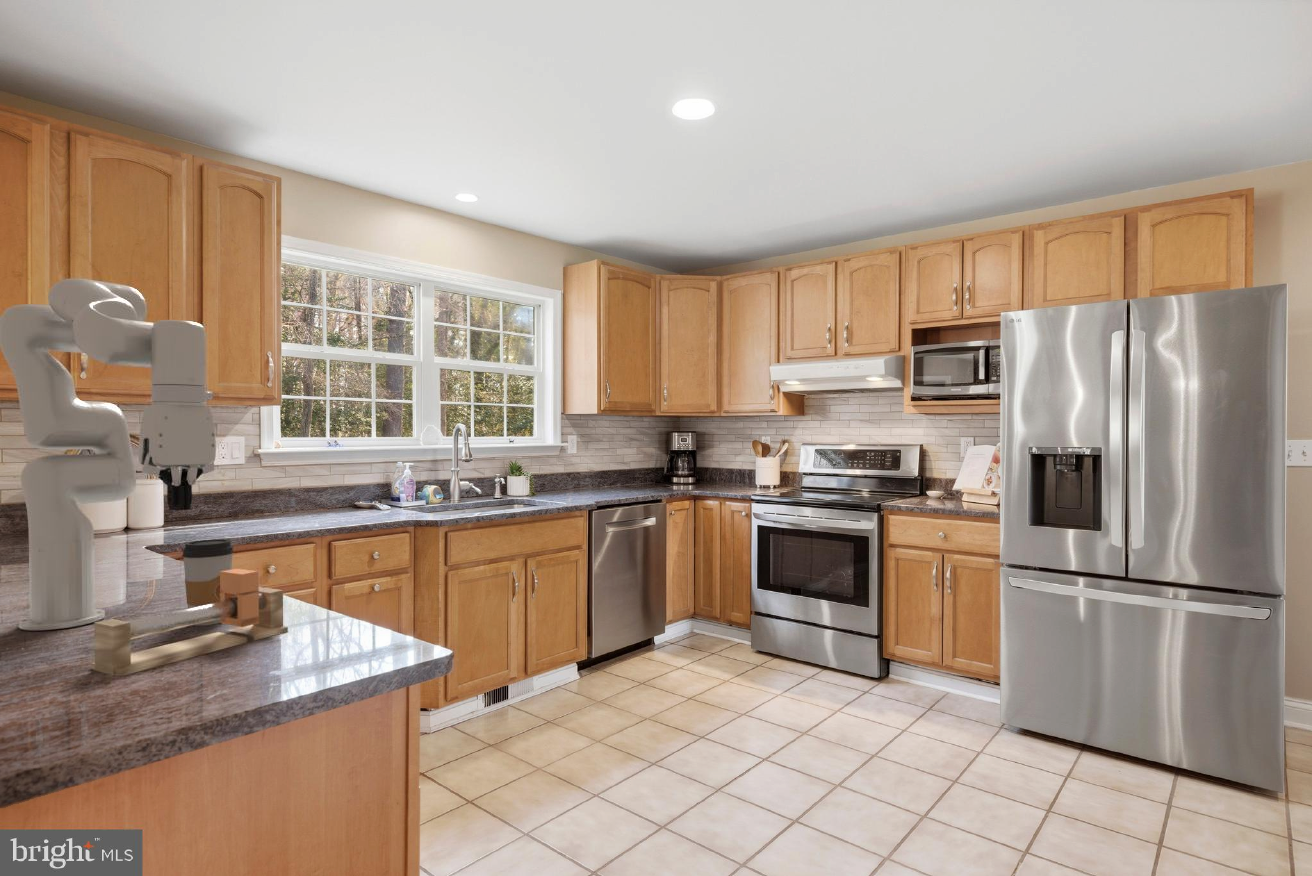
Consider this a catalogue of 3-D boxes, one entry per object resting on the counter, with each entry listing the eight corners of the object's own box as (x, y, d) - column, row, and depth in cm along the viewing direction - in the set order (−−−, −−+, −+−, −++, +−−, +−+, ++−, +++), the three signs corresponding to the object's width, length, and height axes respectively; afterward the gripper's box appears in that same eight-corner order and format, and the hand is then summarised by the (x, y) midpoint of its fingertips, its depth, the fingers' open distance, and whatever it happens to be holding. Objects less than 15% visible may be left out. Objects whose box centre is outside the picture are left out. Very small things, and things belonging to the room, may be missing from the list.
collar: (242, 627, 124) (241, 574, 124) (220, 623, 127) (220, 571, 127) (258, 623, 127) (258, 571, 127) (237, 619, 130) (236, 568, 130)
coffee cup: (210, 628, 133) (209, 546, 133) (171, 626, 135) (170, 544, 135) (244, 616, 142) (244, 539, 142) (207, 614, 143) (207, 538, 143)
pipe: (118, 646, 109) (118, 624, 109) (106, 643, 110) (106, 622, 110) (273, 609, 131) (273, 591, 131) (262, 607, 133) (262, 590, 133)
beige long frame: (118, 676, 107) (117, 627, 107) (89, 668, 110) (89, 621, 110) (288, 631, 131) (288, 591, 131) (260, 625, 135) (260, 586, 135)
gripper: (211, 399, 128) (211, 504, 128) (115, 395, 114) (116, 513, 115) (238, 398, 124) (238, 506, 124) (142, 395, 111) (143, 515, 111)
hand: (179, 509), depth 119 cm, fingers closed
